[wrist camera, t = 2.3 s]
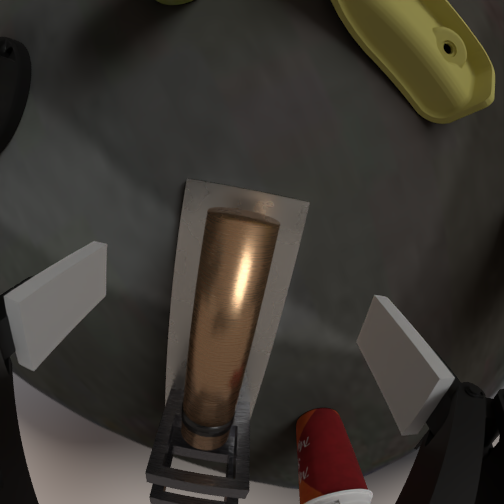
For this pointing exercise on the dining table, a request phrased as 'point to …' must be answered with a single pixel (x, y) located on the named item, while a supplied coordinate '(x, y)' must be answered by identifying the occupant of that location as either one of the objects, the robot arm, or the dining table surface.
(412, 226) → the dining table surface
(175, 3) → the plant pot
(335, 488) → the paper cup
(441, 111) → the plastic component
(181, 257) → the rail
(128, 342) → the dining table surface
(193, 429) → the copper tube
